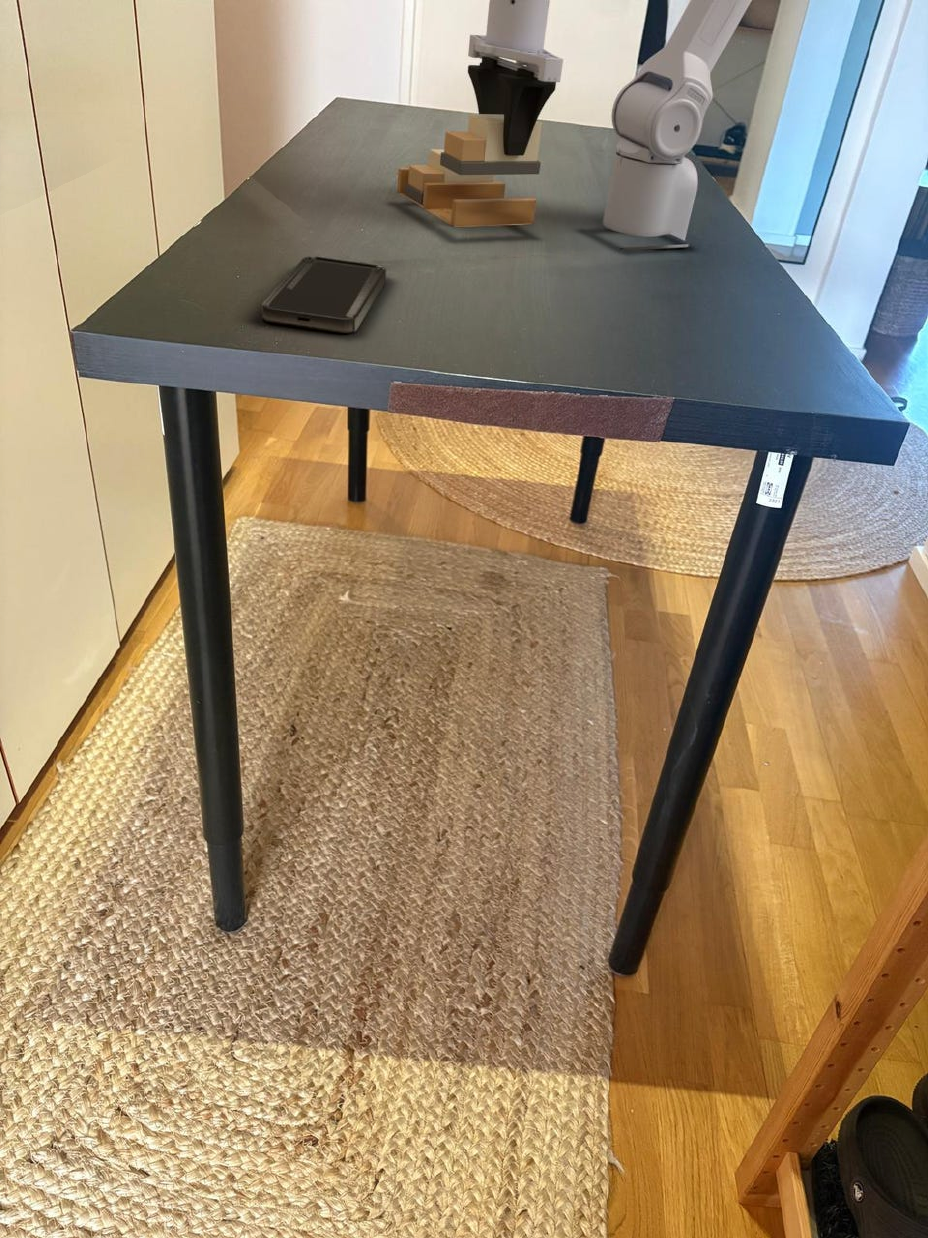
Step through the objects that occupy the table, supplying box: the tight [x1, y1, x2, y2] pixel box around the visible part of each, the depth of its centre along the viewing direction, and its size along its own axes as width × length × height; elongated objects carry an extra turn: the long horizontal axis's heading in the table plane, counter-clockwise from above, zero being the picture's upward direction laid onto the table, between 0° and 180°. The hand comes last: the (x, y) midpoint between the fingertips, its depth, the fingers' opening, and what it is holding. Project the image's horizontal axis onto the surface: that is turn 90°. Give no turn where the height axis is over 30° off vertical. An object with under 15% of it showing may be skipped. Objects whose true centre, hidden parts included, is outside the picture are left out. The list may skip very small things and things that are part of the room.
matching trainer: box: [405, 148, 495, 205], centre depth 105 cm, size 10×4×5 cm, turn 118°
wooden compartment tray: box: [396, 167, 537, 228], centre depth 104 cm, size 10×14×4 cm
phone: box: [261, 255, 387, 334], centre depth 79 cm, size 8×1×15 cm
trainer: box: [440, 113, 543, 176], centre depth 94 cm, size 10×4×5 cm, turn 119°
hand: (502, 149), depth 95 cm, fingers closed on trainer, 4 cm apart
